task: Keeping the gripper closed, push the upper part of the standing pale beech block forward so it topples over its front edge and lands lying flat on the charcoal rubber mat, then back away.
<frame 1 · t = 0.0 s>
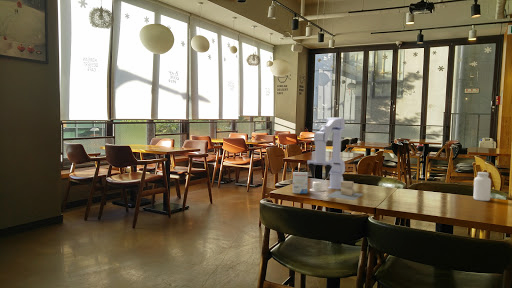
hand: (319, 177, 214), 10 cm above the table, fingers open, 7 cm apart
mat: (344, 196, 216), on the table
beech block: (346, 194, 219), resting on mat
espresso cup: (317, 190, 231), on the table
pill bottle: (481, 200, 212), on the table
ink box: (299, 193, 224), on the table
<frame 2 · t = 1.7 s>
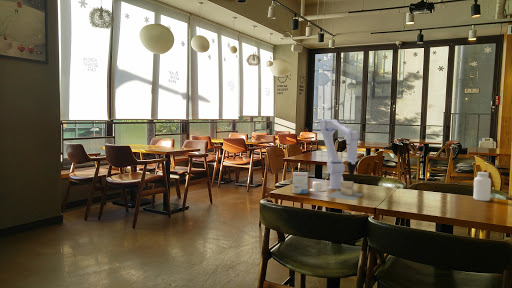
hand: (351, 175, 224), 10 cm above the table, fingers closed
nothing on the table moved.
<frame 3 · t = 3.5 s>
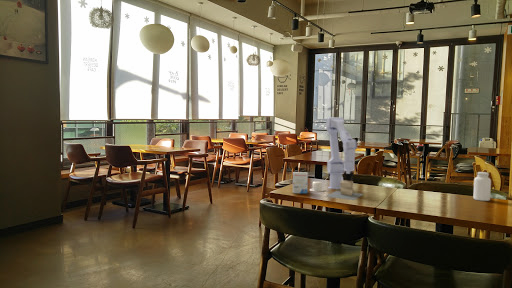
hand: (348, 184, 221), 5 cm above the table, fingers closed
beech block: (346, 193, 219), point 1 cm above the table, tilted 10°, touching mat
everything else where it was.
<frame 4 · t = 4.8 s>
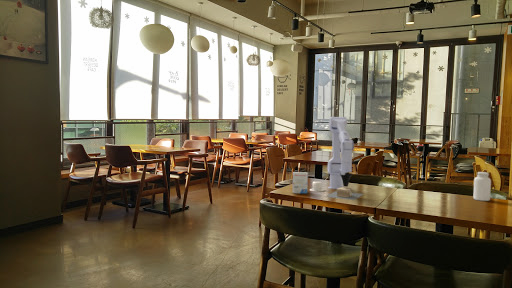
hand: (345, 186, 216), 5 cm above the table, fingers closed
beech block: (346, 191, 217), point 2 cm above the table, tilted 90°, touching mat
everything else where it was.
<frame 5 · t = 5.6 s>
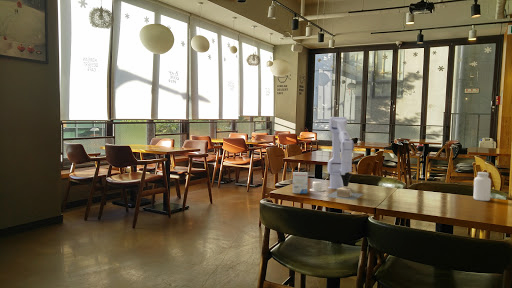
hand: (345, 186, 216), 5 cm above the table, fingers closed
nothing on the table moved.
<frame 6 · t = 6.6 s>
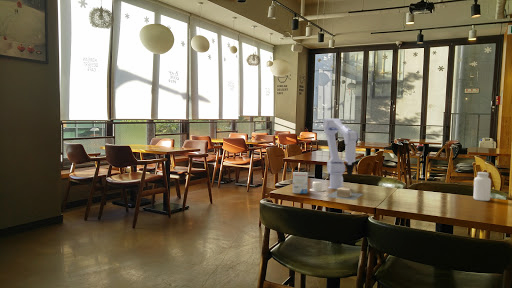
hand: (349, 175, 222), 10 cm above the table, fingers closed
nothing on the table moved.
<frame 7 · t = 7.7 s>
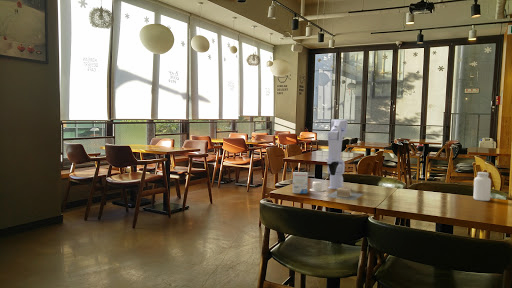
hand: (332, 175, 224), 10 cm above the table, fingers closed
nothing on the table moved.
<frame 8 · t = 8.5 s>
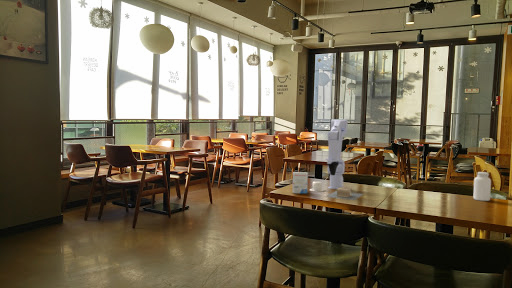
hand: (332, 175, 224), 10 cm above the table, fingers closed
nothing on the table moved.
at the end: beech block tilted 90°; beech block inside the target area on the mat (4.8 cm from its centre), point 2.5 cm above the mat's base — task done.
